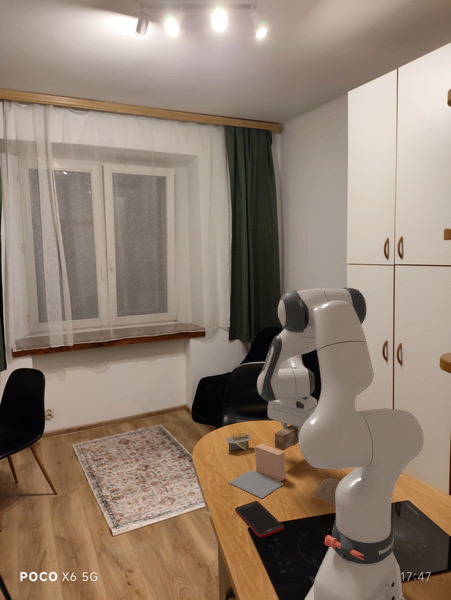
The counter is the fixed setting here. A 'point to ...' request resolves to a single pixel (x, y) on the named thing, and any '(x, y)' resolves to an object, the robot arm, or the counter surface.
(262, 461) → the tile
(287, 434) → the bar
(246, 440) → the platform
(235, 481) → the mat
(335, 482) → the clay tablet
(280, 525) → the cell phone
